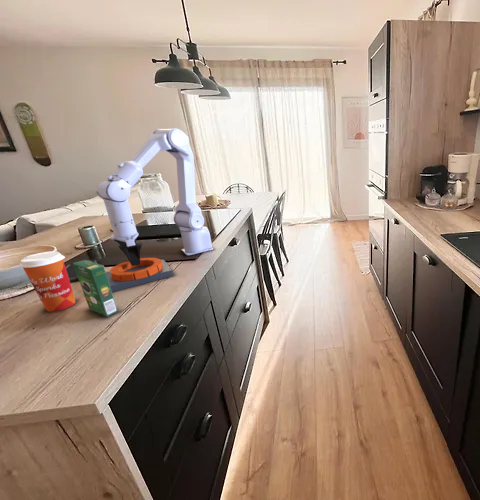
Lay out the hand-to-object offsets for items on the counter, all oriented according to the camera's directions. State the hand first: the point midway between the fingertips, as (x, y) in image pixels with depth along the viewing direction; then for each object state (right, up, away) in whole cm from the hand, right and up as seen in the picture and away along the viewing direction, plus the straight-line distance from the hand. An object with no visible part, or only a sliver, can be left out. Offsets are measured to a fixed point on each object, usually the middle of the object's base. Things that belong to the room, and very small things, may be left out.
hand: (134, 261), depth 93 cm
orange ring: (+4, -3, -3) cm, 6 cm away
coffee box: (+8, -12, -20) cm, 25 cm away
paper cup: (-5, -11, -18) cm, 22 cm away
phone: (-20, -4, 0) cm, 20 cm away
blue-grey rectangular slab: (+4, -5, -2) cm, 7 cm away
